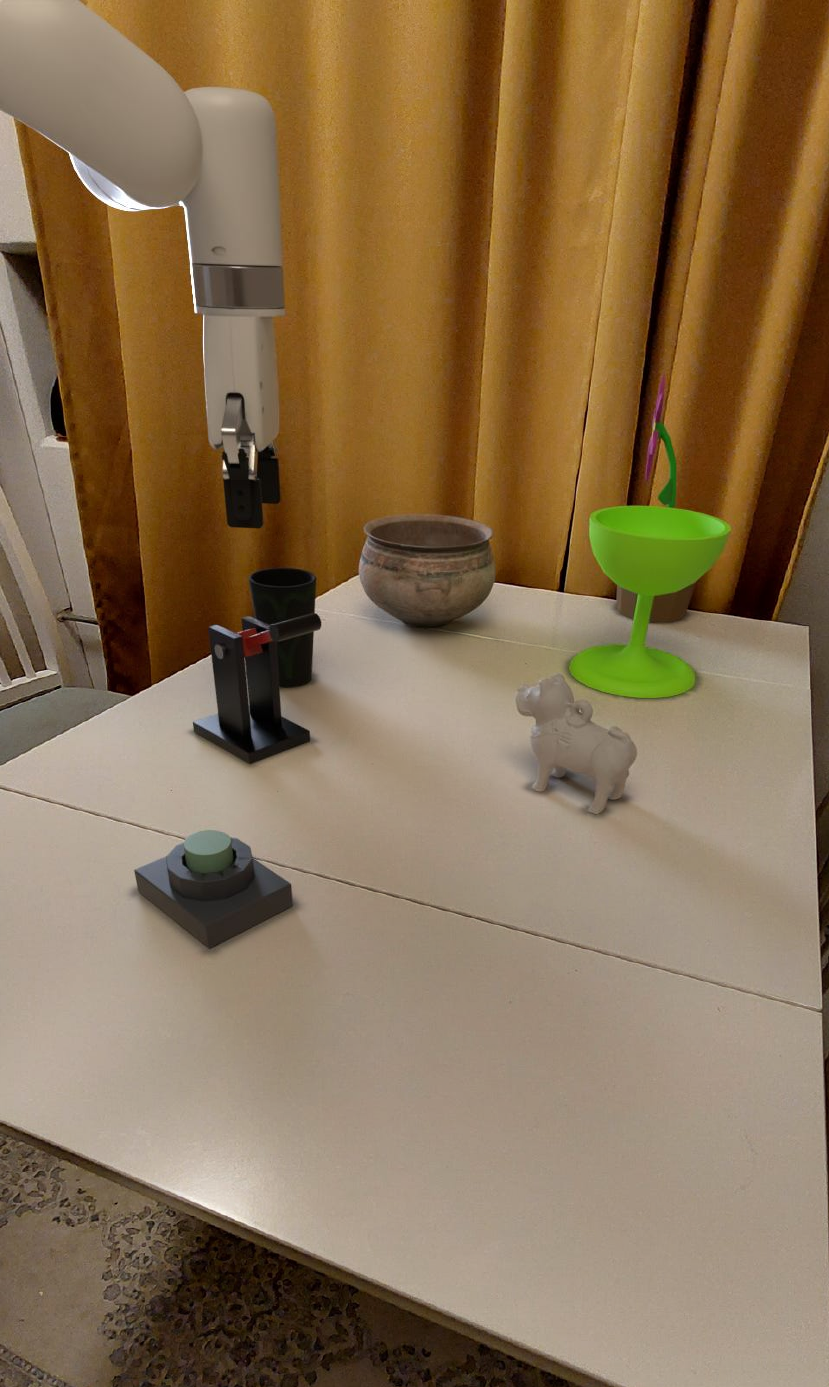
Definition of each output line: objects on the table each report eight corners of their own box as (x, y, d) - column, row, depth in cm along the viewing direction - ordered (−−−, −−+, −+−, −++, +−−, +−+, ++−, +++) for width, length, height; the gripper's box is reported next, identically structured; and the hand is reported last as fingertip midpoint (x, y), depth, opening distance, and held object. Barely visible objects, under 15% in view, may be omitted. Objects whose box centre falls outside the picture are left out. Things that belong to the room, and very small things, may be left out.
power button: (177, 860, 68) (174, 841, 67) (215, 843, 70) (213, 824, 69) (203, 879, 66) (201, 860, 65) (242, 861, 68) (240, 842, 67)
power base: (137, 892, 71) (129, 850, 68) (220, 855, 76) (215, 815, 73) (209, 949, 65) (203, 906, 63) (293, 906, 70) (290, 864, 68)
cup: (244, 677, 107) (234, 576, 99) (291, 661, 111) (286, 563, 104) (285, 696, 103) (278, 591, 95) (333, 678, 107) (330, 577, 100)
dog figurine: (524, 759, 92) (536, 660, 85) (635, 798, 86) (656, 694, 79) (496, 777, 88) (505, 675, 82) (608, 819, 82) (628, 712, 76)
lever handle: (325, 632, 82) (317, 606, 81) (282, 645, 79) (274, 618, 78) (260, 653, 91) (252, 629, 90) (220, 664, 88) (211, 640, 87)
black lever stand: (310, 740, 94) (305, 631, 86) (249, 764, 89) (238, 650, 82) (253, 711, 99) (244, 606, 92) (193, 731, 94) (179, 622, 87)
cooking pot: (505, 652, 116) (514, 555, 109) (363, 652, 115) (362, 554, 107) (478, 593, 136) (484, 508, 128) (356, 593, 134) (355, 507, 127)
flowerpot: (603, 592, 138) (638, 369, 120) (696, 601, 136) (746, 374, 118) (600, 622, 127) (638, 380, 109) (702, 631, 125) (758, 387, 107)
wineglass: (714, 669, 113) (751, 520, 102) (665, 709, 103) (699, 548, 92) (602, 641, 121) (625, 499, 110) (545, 675, 110) (564, 522, 99)
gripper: (216, 288, 80) (234, 493, 90) (166, 295, 66) (194, 536, 76) (298, 291, 80) (307, 496, 90) (266, 299, 66) (280, 539, 76)
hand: (255, 514), depth 83 cm, fingers open, 9 cm apart
